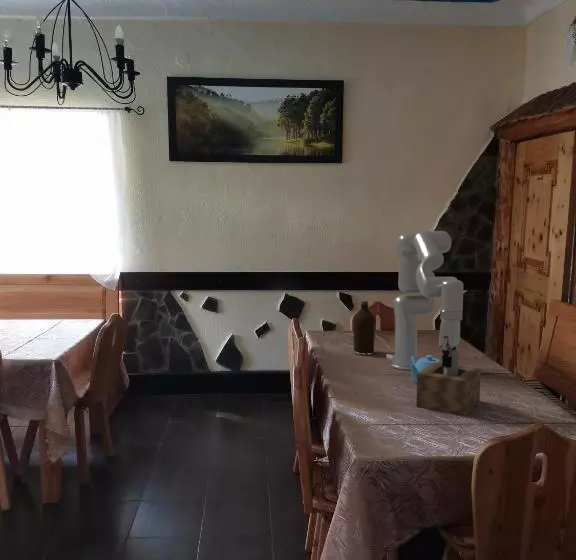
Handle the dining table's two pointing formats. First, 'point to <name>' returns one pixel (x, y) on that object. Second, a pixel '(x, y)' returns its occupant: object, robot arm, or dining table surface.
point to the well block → (448, 389)
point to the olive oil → (364, 330)
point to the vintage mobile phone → (454, 368)
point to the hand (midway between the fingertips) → (449, 364)
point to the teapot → (421, 365)
